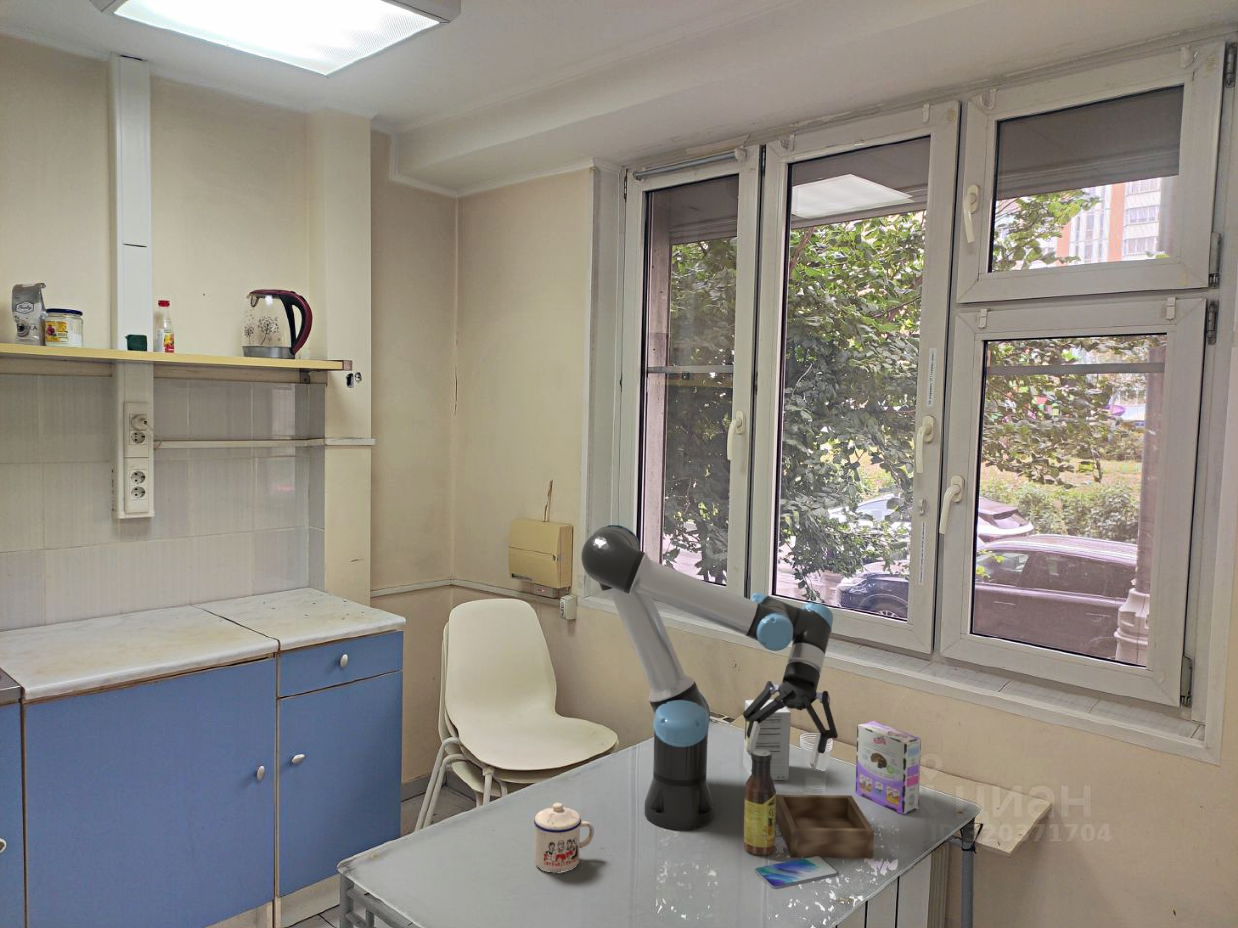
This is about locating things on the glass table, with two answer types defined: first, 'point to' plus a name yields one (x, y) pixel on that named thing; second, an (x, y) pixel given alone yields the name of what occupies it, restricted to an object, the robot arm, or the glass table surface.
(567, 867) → the teacup with lid
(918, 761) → the candy box
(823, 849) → the walled box
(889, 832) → the glass table surface
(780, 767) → the supplement box
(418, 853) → the glass table surface
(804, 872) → the smartphone
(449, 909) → the glass table surface
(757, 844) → the sauce bottle
